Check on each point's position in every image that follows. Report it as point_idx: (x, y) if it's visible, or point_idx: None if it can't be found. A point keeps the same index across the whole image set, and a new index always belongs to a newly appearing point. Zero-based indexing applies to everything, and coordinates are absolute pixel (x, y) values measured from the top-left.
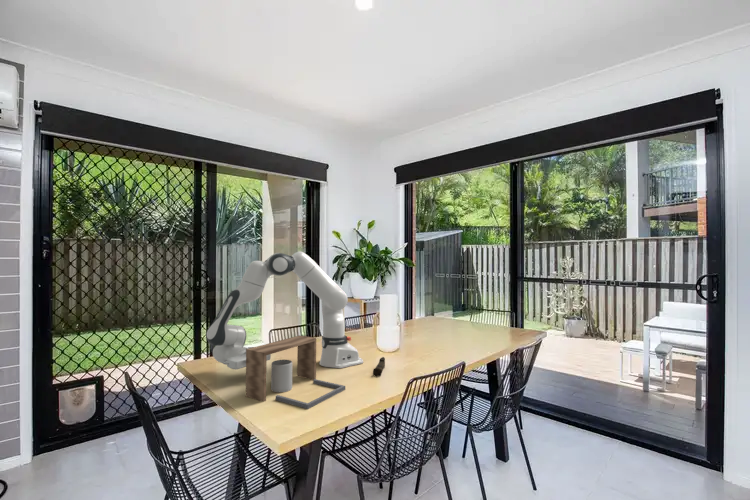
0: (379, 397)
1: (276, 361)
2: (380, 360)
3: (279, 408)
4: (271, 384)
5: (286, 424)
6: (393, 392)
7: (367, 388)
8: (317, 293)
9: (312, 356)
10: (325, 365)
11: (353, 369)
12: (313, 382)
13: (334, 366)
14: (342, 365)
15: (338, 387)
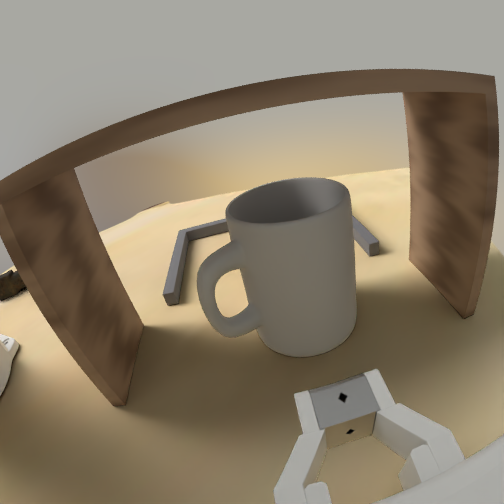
0: (190, 204)
1: (290, 227)
2: (10, 274)
3: (387, 219)
4: (355, 302)
5: (395, 184)
6: (156, 210)
7: (154, 230)
8: None
9: (96, 241)
10: (1, 383)
11: (26, 318)
12: (176, 299)
13: (10, 357)
14: (5, 343)
15: (186, 240)
